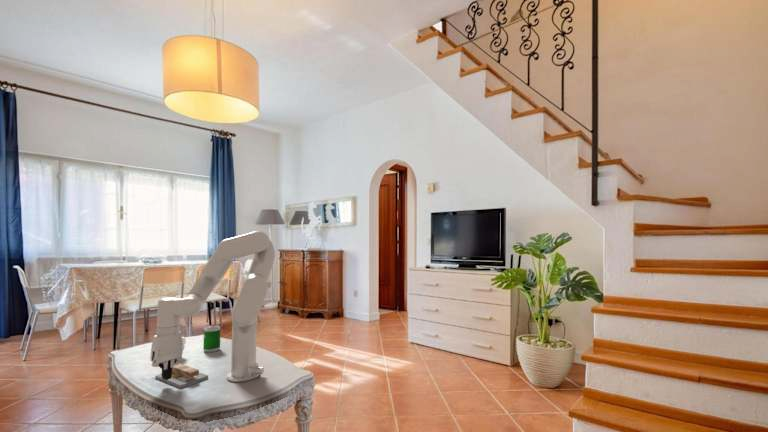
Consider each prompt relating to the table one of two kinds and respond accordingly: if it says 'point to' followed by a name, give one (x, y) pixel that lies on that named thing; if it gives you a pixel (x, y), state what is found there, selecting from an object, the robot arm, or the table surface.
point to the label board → (182, 379)
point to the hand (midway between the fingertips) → (166, 378)
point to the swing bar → (185, 370)
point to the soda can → (211, 338)
